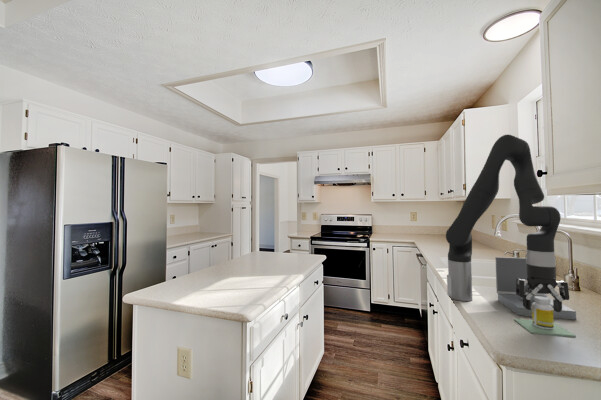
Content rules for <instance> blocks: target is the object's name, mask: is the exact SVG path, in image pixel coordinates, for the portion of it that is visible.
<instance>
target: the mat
mask: <svg viewBox="0 0 601 400" xmlns="http://www.w3.org/2000/svg"><path fill="white" fill-rule="evenodd" d="M513 320H514V321H515V322H516V323H517V324H519V325H520V326H521V327H523V328H524V329H526V330H527V331H528V332H529V333H530V334H535V335H536V334H537V335H545V336H546V335H547V336H557V337H571V338H576V334H574V333H572V332H571V331H569V330H567V329H566V328H564V327H562V326H561V325H559V324H558V323H557V322H555V321H553V322H554V328H553V329H551V330H548V329H542V328H539V327H536V326H534V325H533V323H532V319H521V318H514V319H513Z"/></svg>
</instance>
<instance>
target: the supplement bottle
mask: <svg viewBox="0 0 601 400" xmlns="http://www.w3.org/2000/svg"><path fill="white" fill-rule="evenodd" d="M549 298H550V297H549ZM549 298H546V297H541V296H535V297H534V301H535V302H534V303H532V316H531V320H532V323H533V325H534V326H536V327H539V328H542V329H548V330H551V329H553V328H554V322H555V321H554V318H553V307H552V306H551V305H549V304H550V299H549Z"/></svg>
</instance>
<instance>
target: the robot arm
mask: <svg viewBox="0 0 601 400" xmlns="http://www.w3.org/2000/svg"><path fill="white" fill-rule="evenodd" d="M491 147H492V148H491V149H490V152H489V154H488V157H487V158H486V160H485V163H484V165H483V167H482V170H481V171H480V173H479V175H478V177H477V179H476V181H475V183H474V184H473V185H472V187H471V189H470V190H469V192H468V194H467V197H466V198H465V200H464V202H463V204H462V206H461V208H460V212H459V213H458V215H457V216H456V218H455V219H454V220H453V222H452V224H451V225H450V226H449V228H448V229H447V231H446V232H445V239H446V242H447V243H448V245H449V249H448V251H447V252H448V253H447V269H448V271H447V275H446V287H447V289H446V290H447V291H446V292H447V294H446V295H447V296H448V297H449V298H450V299H451V300H456V301H460V302H461V301H462V302H471V301H473V277H472V276H473V275H472V274H473V272H472V255H473V235H472V230H473V229H474V227H475V225H476V224H477V222H478V221H479V219H480V218H481V217H482V216H483V215H484V214H485V212H487V210H488V209H489V207H490V206H491V205H492V203H493V201H494V200H495V199H496V196H497V195H498V193H499V189H500V172H501V169H502V168H503V165H504V164H505V161H509V163H510V164H511V165H512V167H513V169H514V171H515V173H514V174H515V175H514V178H513V186H514V190H515V192H516V196H517V198H518V203H519V205H518V207H519V213H518V218H519V221H520V222H521V223H522V224H523V225H524V226H526V227H540V229H539V231H536V232H531V233H528V234H527V235H526V254H525V255H526V256H525V258H526V266H527V279H526V280H521V279H519V278H517V279H516V294H517V295H518V296H520V297H522V298H523V306H524V307H525V308H526V309H527V310H531V300H530V298H531V297H532V296H533V295H535V294H536V293H545V294H547V295H551V296H552V298H553V309H554V311H556V312H561V311H562V304H563V301H565V300H566V301H569V300H570V292H569V291H570V289H569V283H568V282H566V281H564V280H561V279H560V280H558V281H557V265H556V264H557V261H556V253H555V238H556V234H557V231H558V229H559V226H560V222H561V218H562V217H561V213H560V211H559V209H557V208H556V207H554V206H552V205H551V206H550V205H546V206H543V205H539V206H538V205H537V206H536V204H538V203H541V202H543V201H544V200H545V194H544V191H543V189H542V187H541V185H540V182H539V181H538V178H537V175H536V173H535V169H534V163H533V159H532V154H531V148H530V144H529V143H528V142H527V141H526V140H524V139H522V138H519V137H517V136H515V135H512V134H503V135H502V136H500V137H499V138H497V140H496V141H495V142H494V144H493V146H491ZM534 205H535V206H534ZM526 284H528V285H529V286H528V287H527V288H526V289H525V292H524V286H526ZM556 287H558V291H559V292H558V291H557V290H556ZM531 290H532V291H531Z"/></svg>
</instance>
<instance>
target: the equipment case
mask: <svg viewBox="0 0 601 400" xmlns="http://www.w3.org/2000/svg"><path fill="white" fill-rule="evenodd" d="M517 278H519V279H521V280H526V279H527V266H526V257H509V256H508V257H506V256H505V257H503V256H502V257H500V256H495V281H496V283H495V284H496V288H495V289H496V293H497V301H499V302H500V303H501V304H502V305H504V306H505V307H507V308H508V309H510V311H513V312H514V313H515V314H516V315H518V316H523V317H524V316H525V317H532V303H534V302H535V301H534V297H535V296H541V297H546V298H549V299H550V304H549V305H551V306H552V307H553V299H554V298H553V299H552V298H551V297H548V294H545V293H536V294H535V295H533V296H532V297H531V298H530V300H531V310H527V309H526V308H525V307H524V306H523V298H522V297H520V296H518V295H517V294H516V279H517ZM528 286H529V285H528V284H526V286H524V292H525V289H526V288H527V287H528ZM531 291H532V290H531ZM553 319H564V320H567V319H568V320H577V311H576V310H574V309H572V308H570V307H568V306H566V305H564V304H563V303H562V311H561V312H556V311H554V309H553Z"/></svg>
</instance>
